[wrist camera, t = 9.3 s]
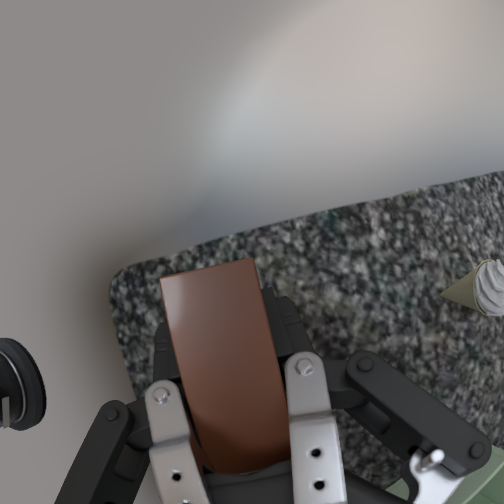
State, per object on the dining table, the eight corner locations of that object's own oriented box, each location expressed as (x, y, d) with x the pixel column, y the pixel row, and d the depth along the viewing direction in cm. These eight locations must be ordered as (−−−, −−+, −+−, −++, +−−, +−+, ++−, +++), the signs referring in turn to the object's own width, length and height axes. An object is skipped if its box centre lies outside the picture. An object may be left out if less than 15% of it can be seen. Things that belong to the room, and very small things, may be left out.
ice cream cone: (421, 314, 26) (530, 308, 12) (428, 267, 27) (531, 234, 13) (454, 320, 26) (557, 316, 12) (459, 277, 27) (558, 252, 13)
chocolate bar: (229, 394, 18) (212, 478, 7) (205, 295, 19) (157, 277, 9) (272, 385, 18) (301, 461, 8) (248, 286, 20) (253, 256, 9)
